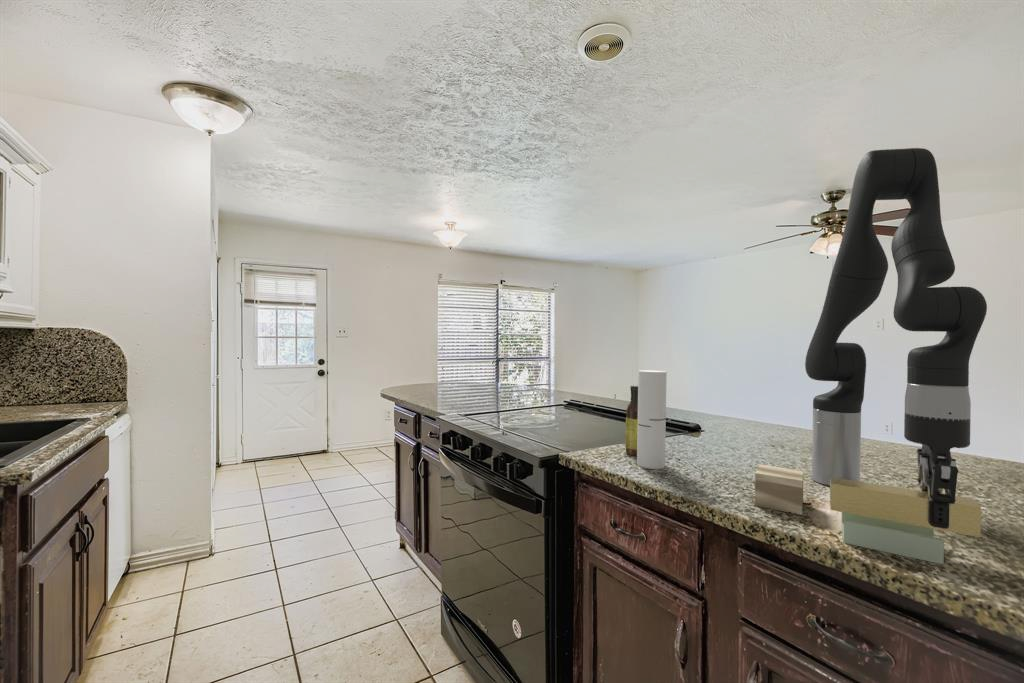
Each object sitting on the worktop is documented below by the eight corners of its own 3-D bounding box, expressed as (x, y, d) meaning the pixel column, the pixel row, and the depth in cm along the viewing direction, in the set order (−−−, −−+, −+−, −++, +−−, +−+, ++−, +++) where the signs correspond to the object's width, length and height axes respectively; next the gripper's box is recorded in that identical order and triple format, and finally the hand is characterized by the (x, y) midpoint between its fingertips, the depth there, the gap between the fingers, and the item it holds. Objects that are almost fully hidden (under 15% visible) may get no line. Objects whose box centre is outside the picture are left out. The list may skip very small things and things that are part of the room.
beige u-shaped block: (758, 494, 96) (759, 464, 96) (802, 502, 91) (803, 470, 91) (754, 505, 89) (755, 473, 89) (801, 514, 85) (802, 480, 85)
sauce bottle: (643, 458, 125) (645, 387, 125) (622, 454, 128) (623, 386, 128) (650, 453, 130) (651, 385, 130) (629, 450, 133) (630, 384, 133)
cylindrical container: (666, 469, 113) (668, 372, 113) (638, 467, 115) (639, 371, 115) (663, 462, 120) (664, 370, 120) (635, 460, 122) (637, 369, 122)
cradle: (841, 526, 80) (841, 507, 80) (932, 544, 73) (932, 523, 73) (843, 542, 73) (844, 521, 73) (943, 564, 66) (944, 541, 66)
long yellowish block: (829, 502, 79) (830, 477, 79) (971, 527, 69) (972, 498, 69) (830, 509, 76) (831, 483, 76) (980, 537, 65) (981, 506, 65)
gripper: (984, 422, 62) (982, 544, 62) (957, 410, 74) (955, 512, 74) (912, 416, 66) (911, 531, 66) (897, 406, 78) (896, 503, 78)
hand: (934, 520), depth 70 cm, fingers closed on long yellowish block, 4 cm apart
